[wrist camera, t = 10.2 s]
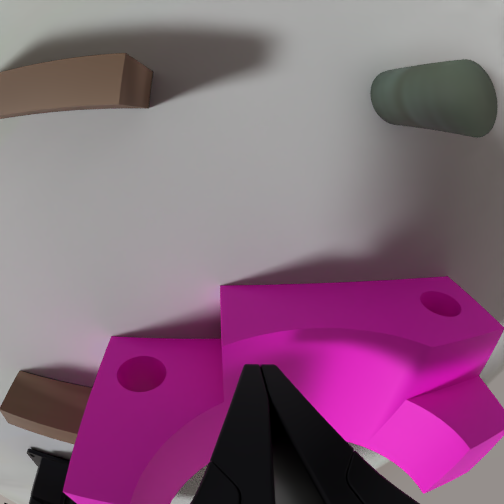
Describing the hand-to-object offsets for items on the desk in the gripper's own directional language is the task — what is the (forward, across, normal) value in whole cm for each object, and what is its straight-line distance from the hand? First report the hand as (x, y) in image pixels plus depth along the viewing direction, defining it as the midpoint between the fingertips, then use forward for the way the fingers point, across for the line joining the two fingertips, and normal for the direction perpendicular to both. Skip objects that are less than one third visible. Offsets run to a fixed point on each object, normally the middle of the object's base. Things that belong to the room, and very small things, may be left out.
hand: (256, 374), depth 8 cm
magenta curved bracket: (+4, -2, +2) cm, 5 cm away
